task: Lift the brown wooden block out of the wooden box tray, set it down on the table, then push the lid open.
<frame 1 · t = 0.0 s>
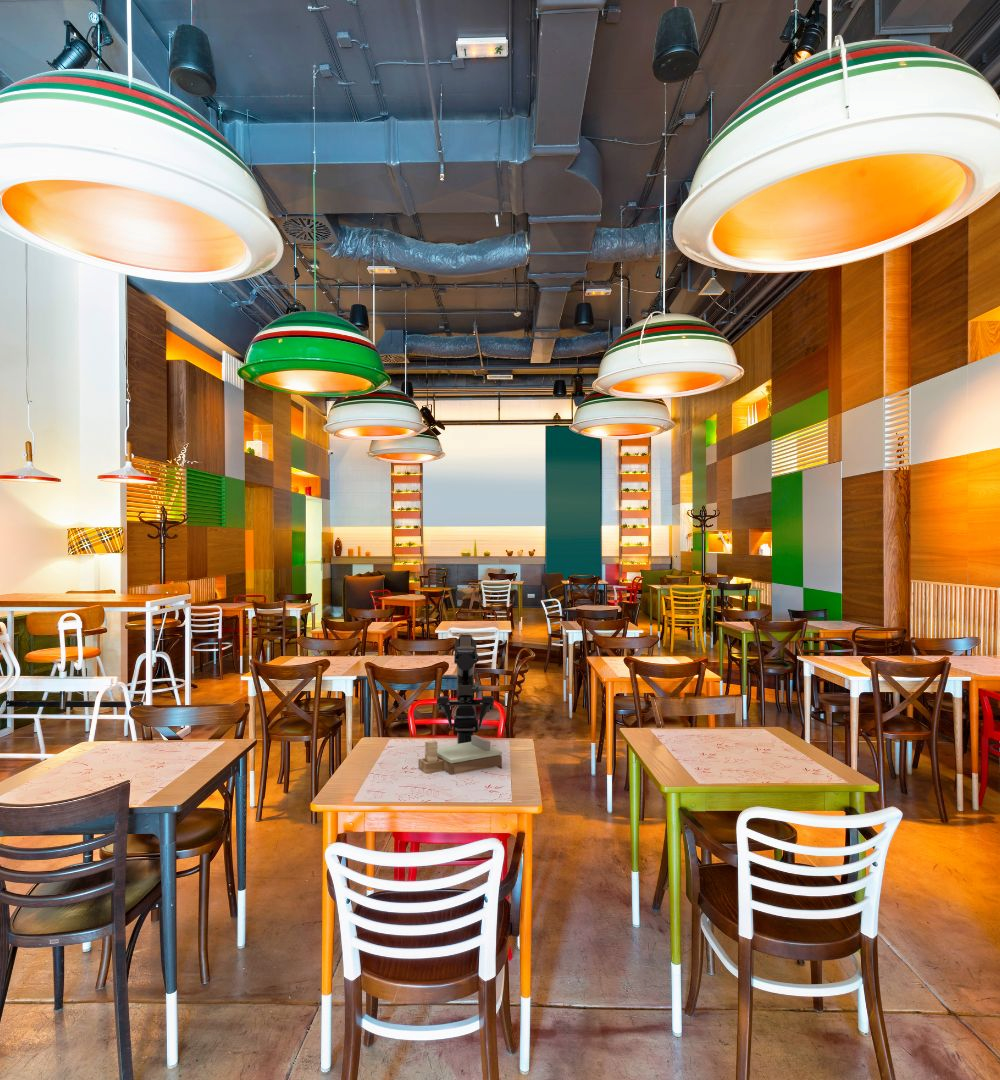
hand: (465, 728, 213), 15 cm above the table, tool tilted 35°, fingers open, 9 cm apart
wooden box tray: (465, 766, 221), on the table
lid: (465, 746, 221), point 7 cm above the table, slide at 0.0 cm
brown wooden block: (431, 769, 214), point 1 cm above the table, touching wooden box tray
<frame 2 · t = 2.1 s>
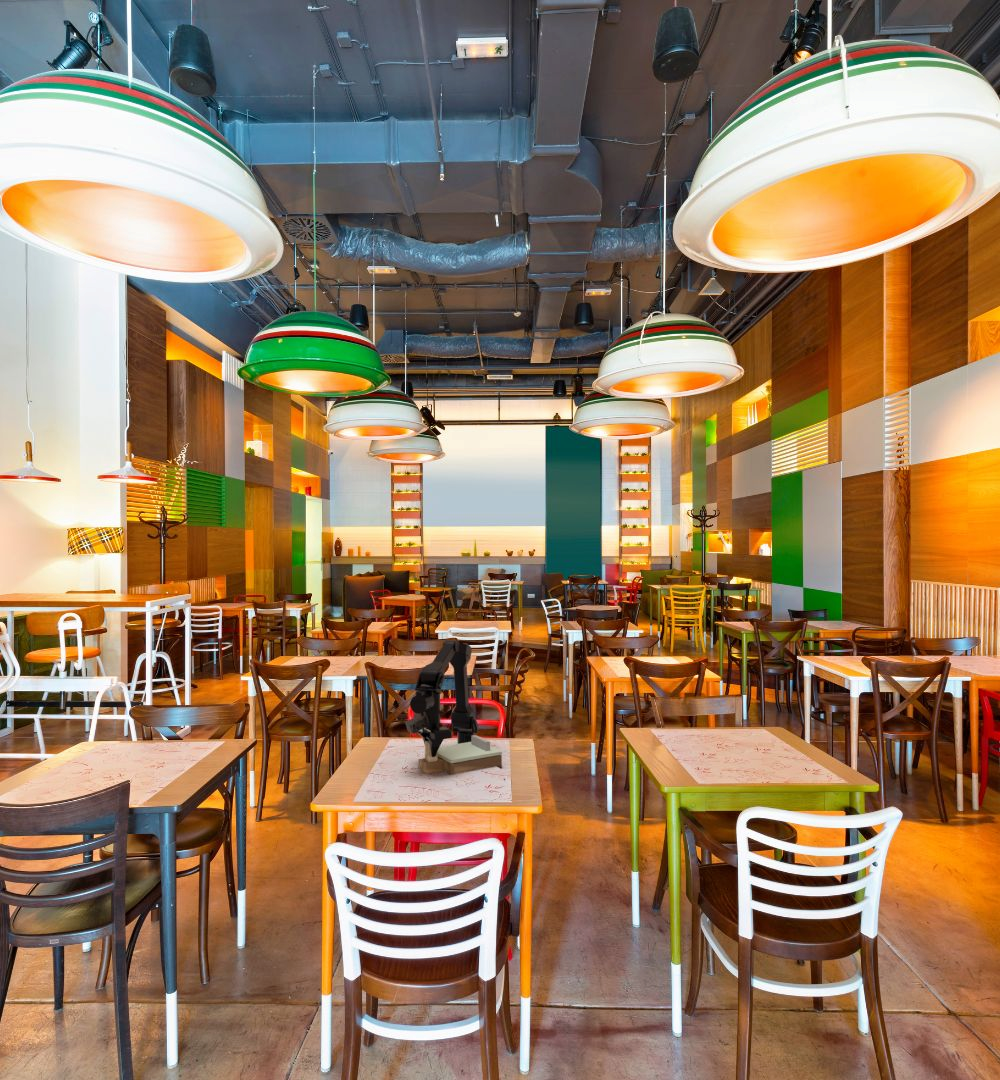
hand: (431, 755, 215), 6 cm above the table, tool pointing down, fingers closed on brown wooden block, 3 cm apart
brown wooden block: (431, 769, 214), point 1 cm above the table, touching gripper, wooden box tray
everything else where it was.
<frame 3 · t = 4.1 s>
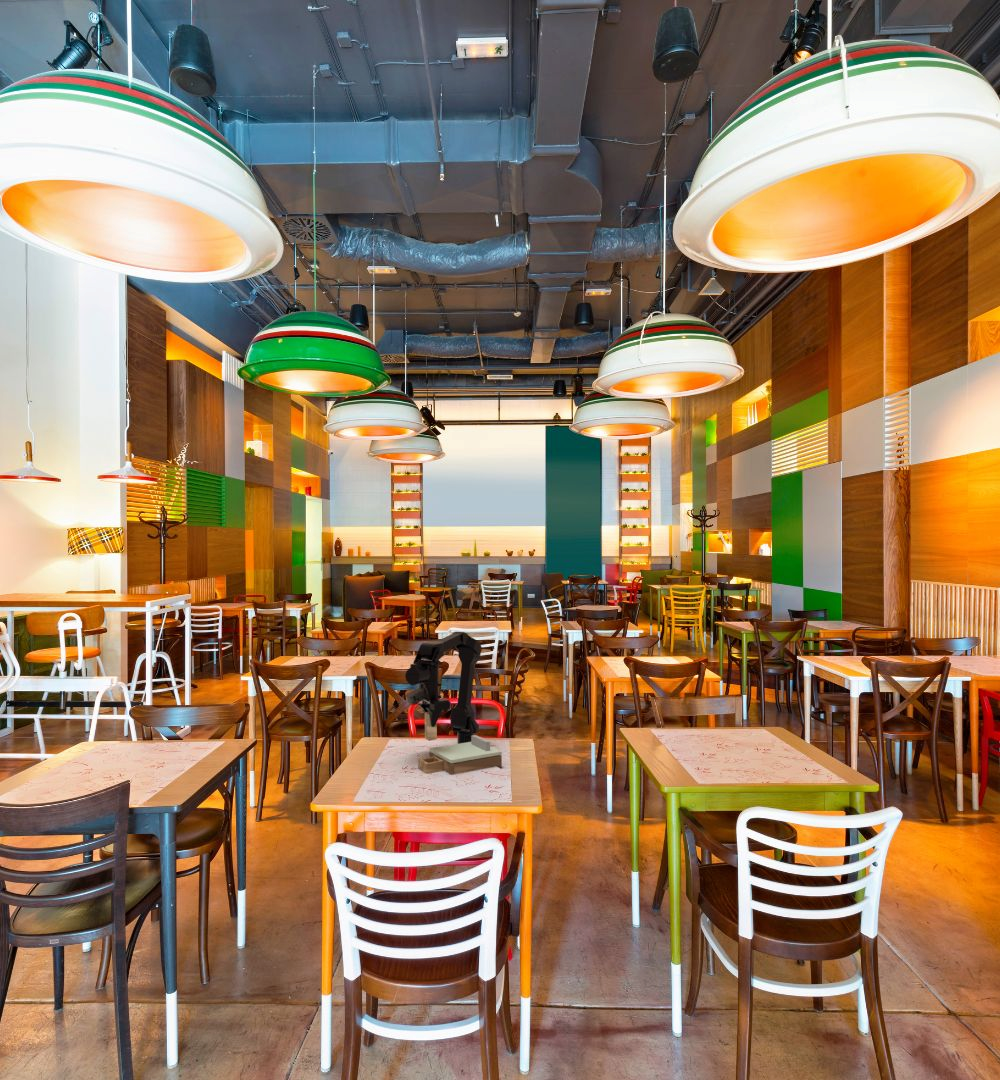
hand: (430, 725, 226), 13 cm above the table, tool pointing down, fingers closed on brown wooden block, 3 cm apart
brown wooden block: (430, 738, 226), point 8 cm above the table, touching gripper
everything else where it was.
when the fingers open (6 cm above the table, at t = 6.0 s): brown wooden block drops 2 cm, on the table.
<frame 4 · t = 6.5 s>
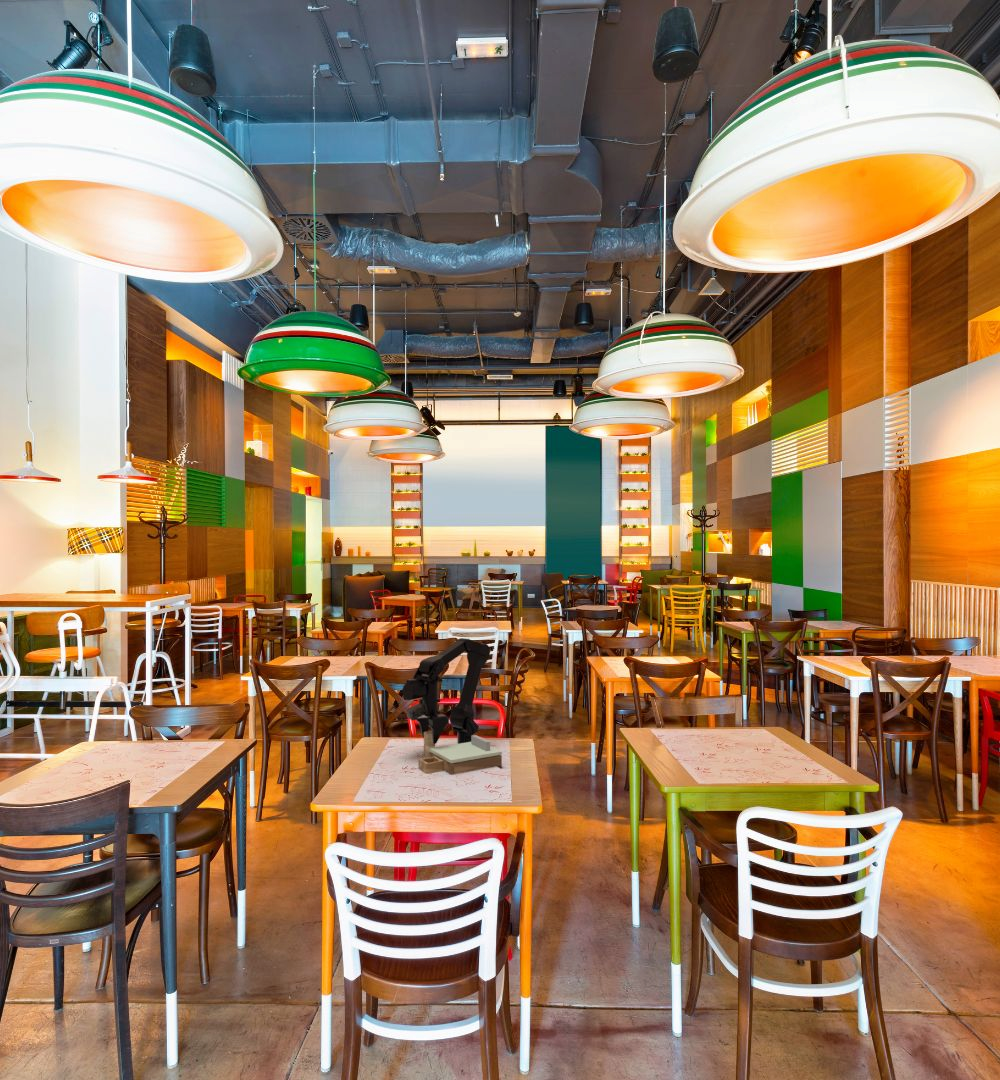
hand: (429, 740, 231), 6 cm above the table, tool pointing down, fingers open, 8 cm apart
brown wooden block: (429, 758, 231), on the table
everything else where it was.
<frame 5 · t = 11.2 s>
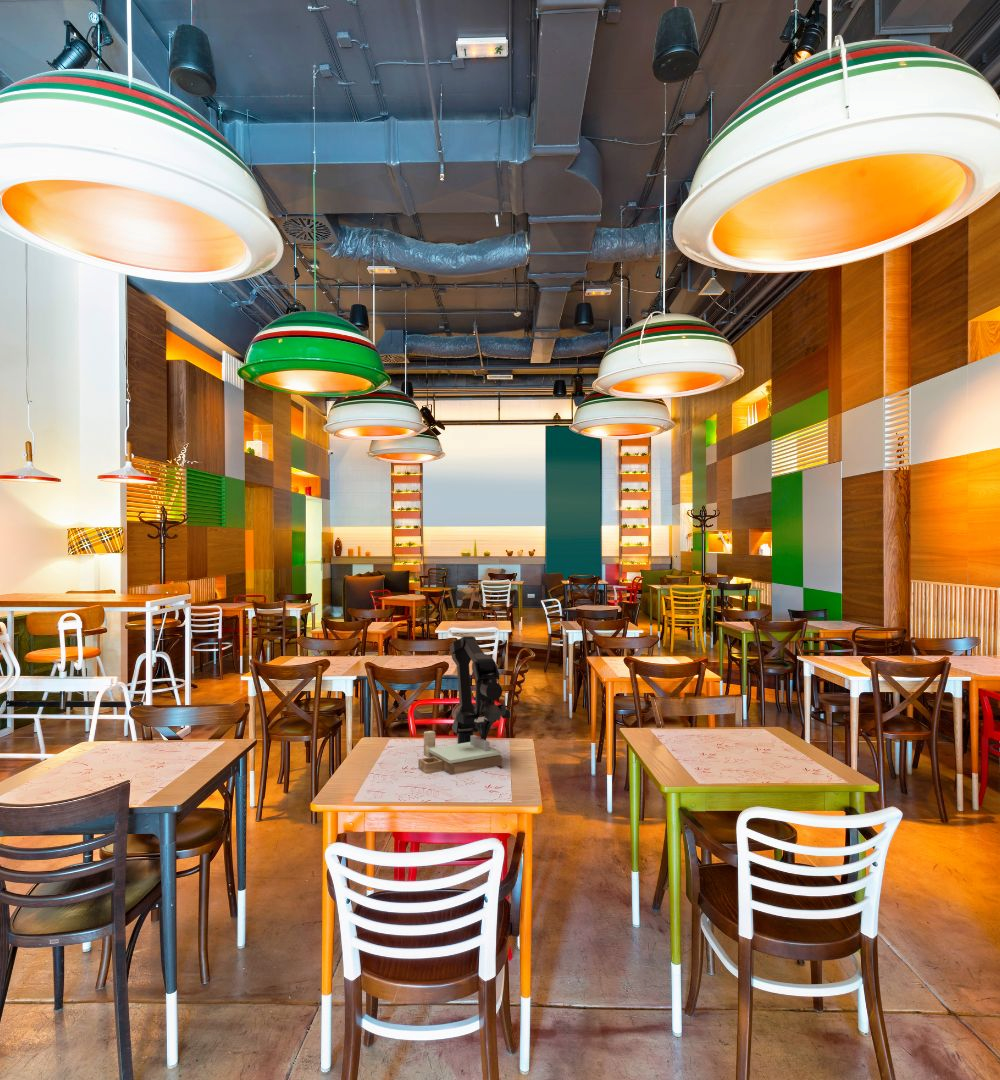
hand: (483, 740, 225), 8 cm above the table, tool pointing down, fingers closed
lid: (464, 747, 221), point 7 cm above the table, slide at 0.4 cm, touching gripper
everything else where it was.
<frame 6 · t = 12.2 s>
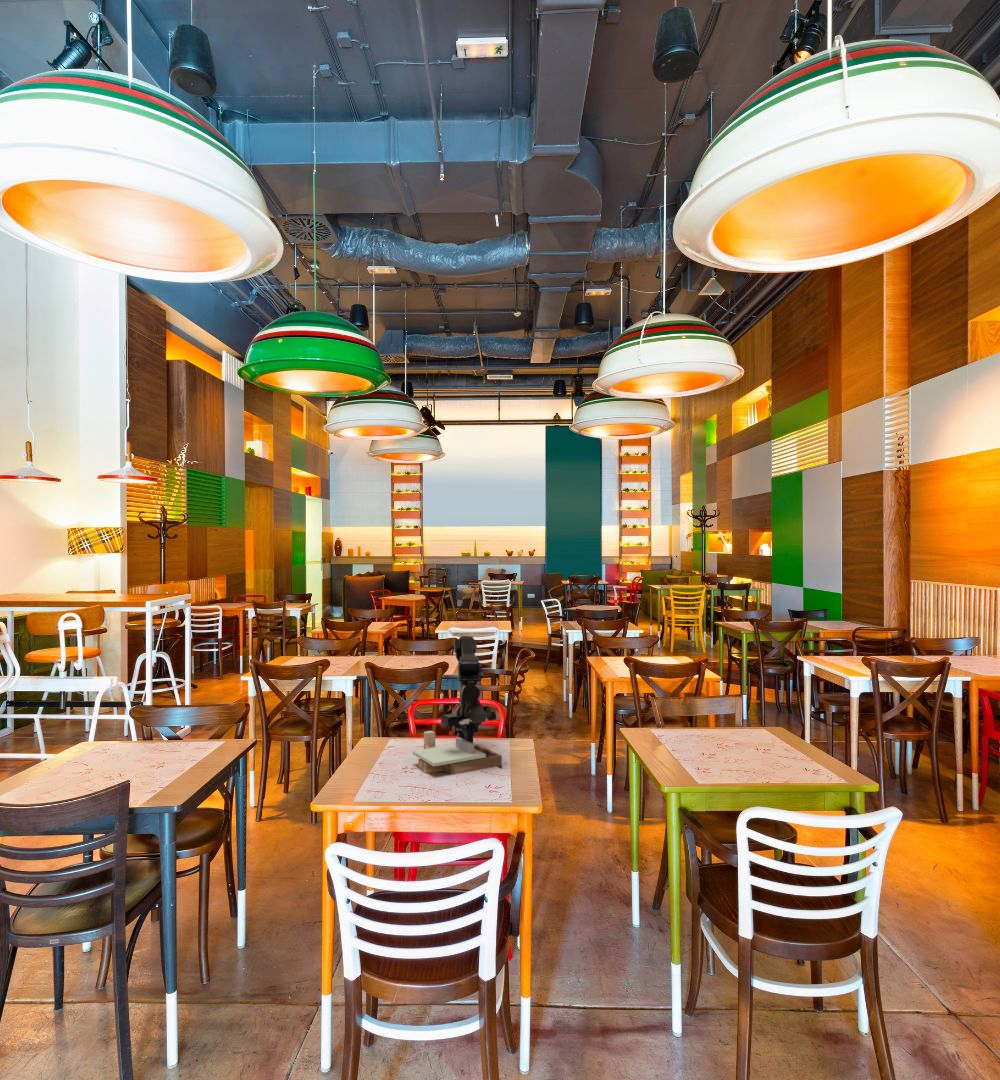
hand: (469, 743, 222), 8 cm above the table, tool pointing down, fingers closed
lid: (448, 749, 218), point 7 cm above the table, slide at 6.1 cm, touching gripper
everything else where it was.
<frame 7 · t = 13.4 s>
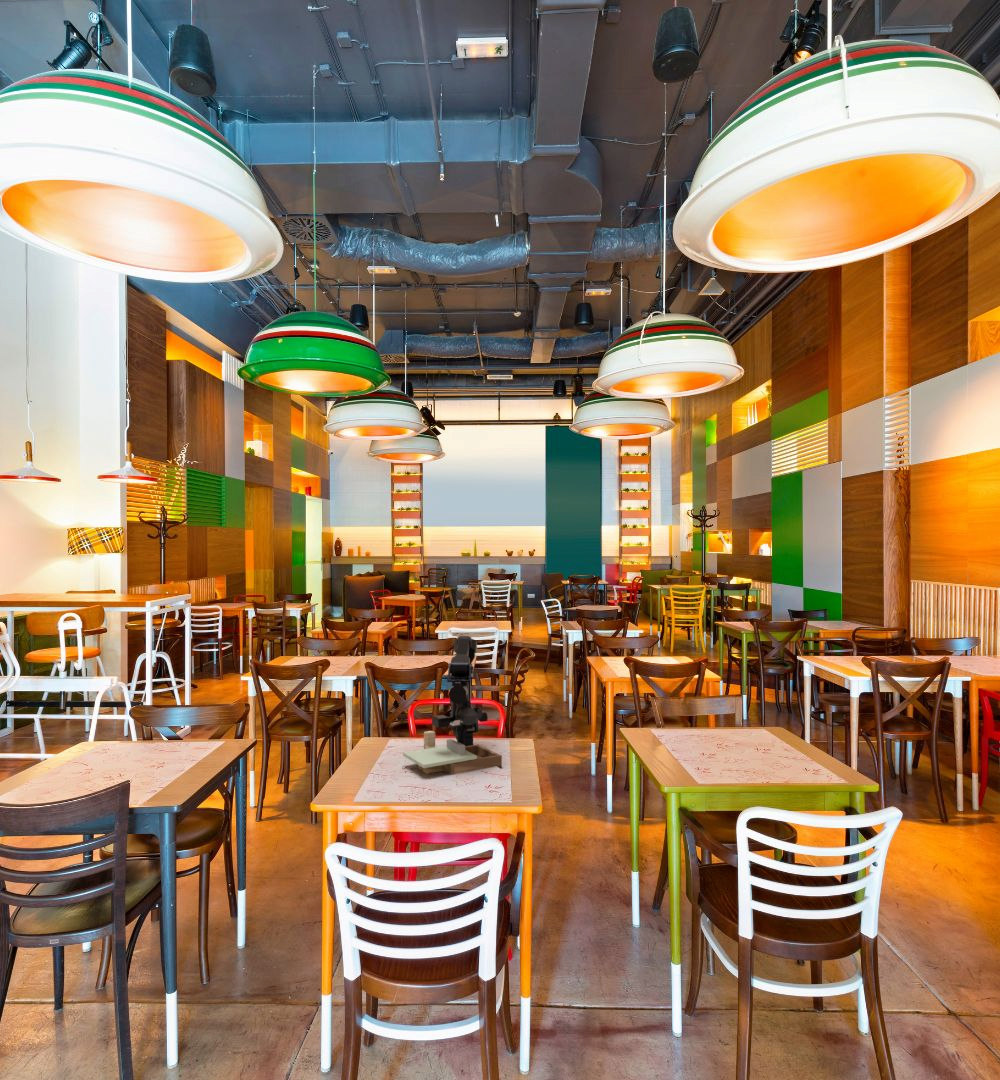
hand: (460, 744, 220), 8 cm above the table, tool pointing down, fingers closed
lid: (439, 751, 216), point 7 cm above the table, slide at 9.6 cm, touching gripper
everything else where it was.
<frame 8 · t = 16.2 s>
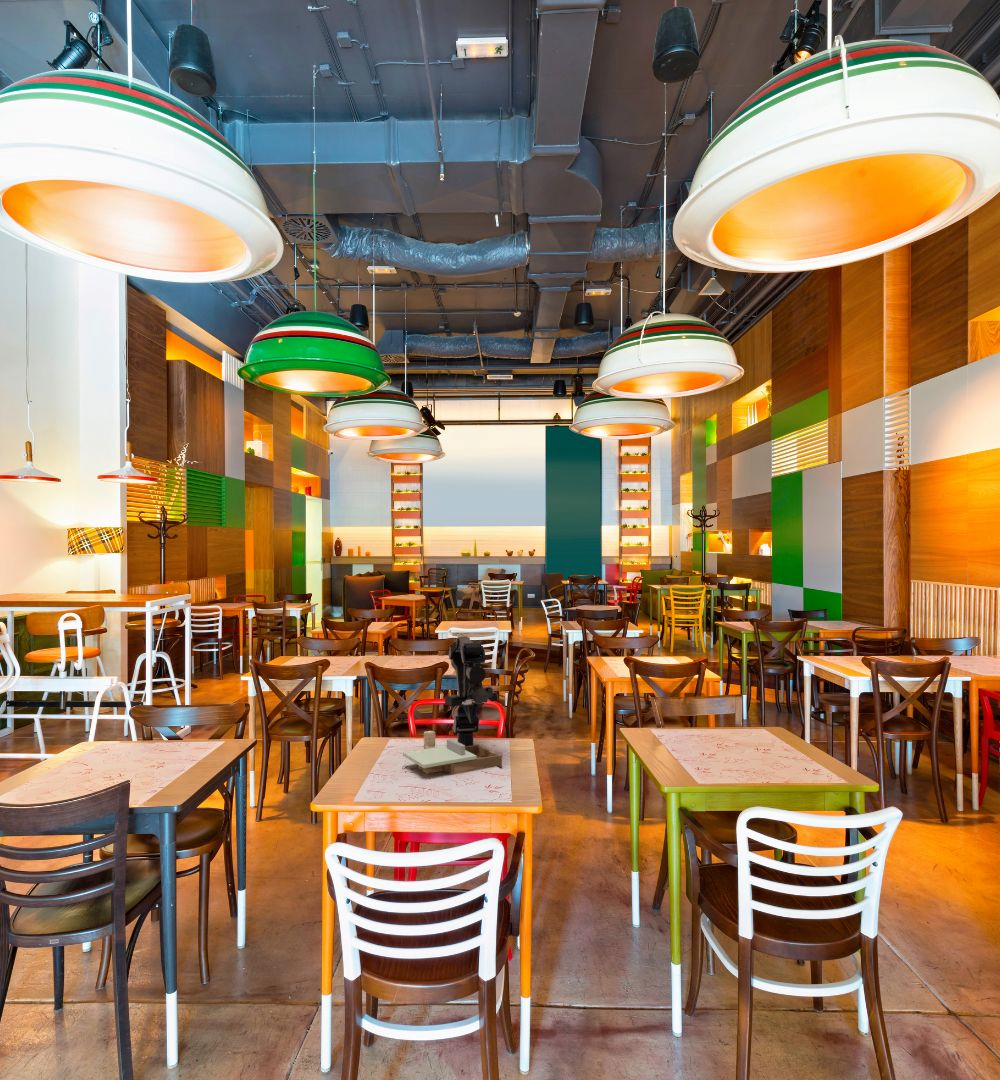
hand: (471, 722, 232), 12 cm above the table, tool pointing down, fingers closed
lid: (439, 751, 216), point 7 cm above the table, slide at 9.6 cm
everything else where it was.
at the end: lid slide at 9.6 cm; brown wooden block inside the target area (0.0 cm from its centre), on the table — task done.
